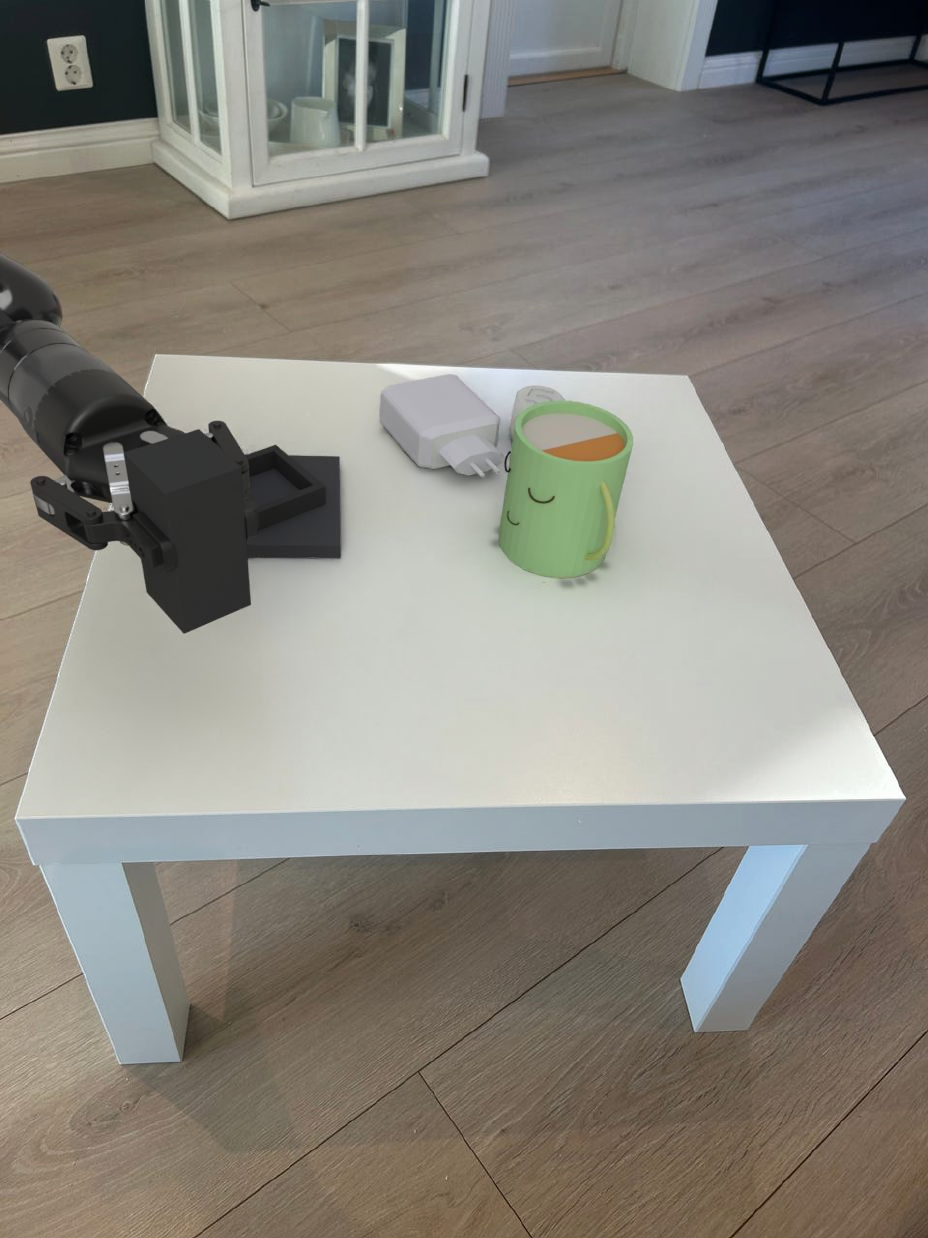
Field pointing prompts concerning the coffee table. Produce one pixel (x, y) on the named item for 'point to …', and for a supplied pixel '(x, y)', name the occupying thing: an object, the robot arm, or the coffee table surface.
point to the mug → (563, 487)
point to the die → (531, 401)
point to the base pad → (295, 505)
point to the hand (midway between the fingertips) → (210, 541)
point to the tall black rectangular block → (193, 526)
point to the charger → (442, 424)
